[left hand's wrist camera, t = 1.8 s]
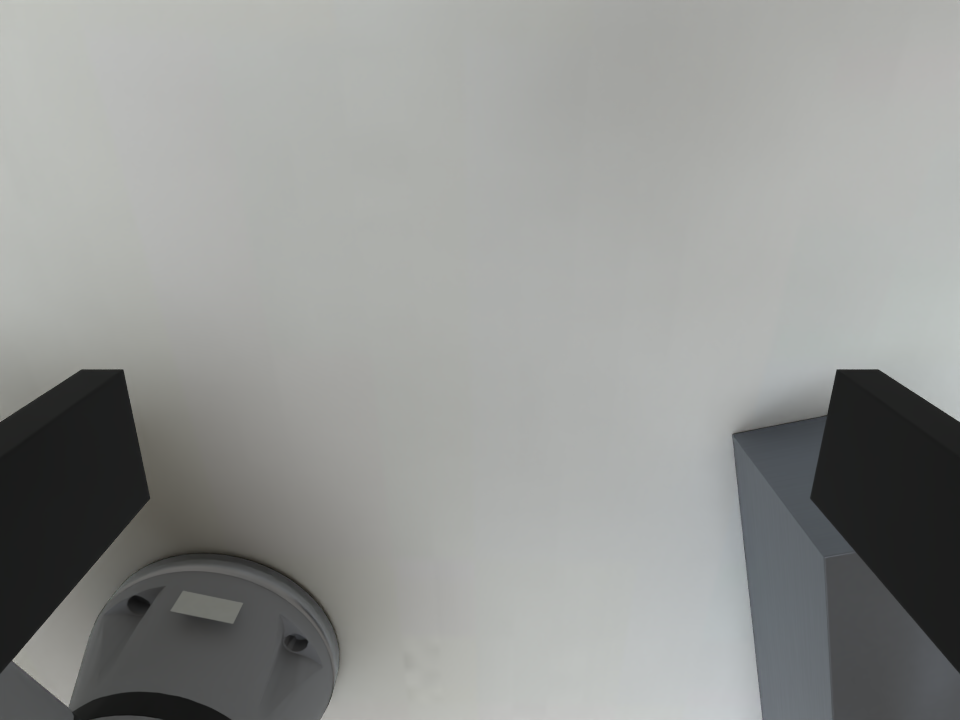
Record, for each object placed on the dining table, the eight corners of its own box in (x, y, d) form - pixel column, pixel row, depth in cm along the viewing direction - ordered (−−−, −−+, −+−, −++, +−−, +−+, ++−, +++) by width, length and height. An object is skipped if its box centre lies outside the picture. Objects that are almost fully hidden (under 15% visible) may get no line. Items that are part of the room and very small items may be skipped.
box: (853, 742, 45) (958, 923, 35) (766, 755, 46) (844, 937, 36) (841, 412, 36) (976, 530, 26) (731, 433, 37) (823, 557, 27)
